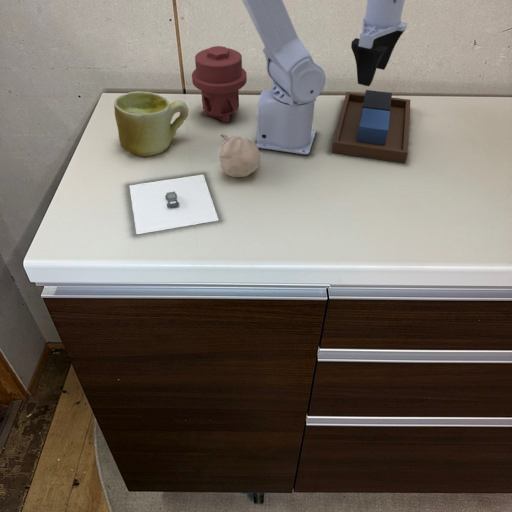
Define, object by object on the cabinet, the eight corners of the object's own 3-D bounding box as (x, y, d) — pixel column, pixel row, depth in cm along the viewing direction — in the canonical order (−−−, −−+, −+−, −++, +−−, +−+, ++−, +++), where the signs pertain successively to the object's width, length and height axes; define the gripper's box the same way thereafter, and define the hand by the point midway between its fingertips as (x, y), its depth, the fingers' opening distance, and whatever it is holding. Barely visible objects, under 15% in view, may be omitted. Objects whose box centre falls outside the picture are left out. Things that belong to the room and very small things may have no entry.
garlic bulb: (226, 160, 81) (224, 117, 75) (263, 164, 80) (264, 121, 74) (216, 182, 76) (214, 139, 70) (255, 187, 75) (256, 143, 70)
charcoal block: (360, 121, 89) (362, 106, 87) (363, 104, 94) (366, 89, 92) (386, 124, 89) (390, 109, 86) (388, 107, 93) (392, 92, 91)
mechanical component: (184, 117, 91) (217, 97, 97) (225, 133, 87) (256, 111, 93) (177, 52, 82) (214, 35, 88) (222, 66, 78) (257, 48, 84)
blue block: (356, 141, 84) (359, 126, 82) (360, 122, 89) (362, 107, 87) (384, 145, 83) (388, 130, 81) (387, 125, 88) (390, 111, 86)
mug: (108, 156, 78) (111, 93, 73) (116, 142, 87) (119, 85, 83) (183, 166, 80) (189, 106, 76) (183, 151, 89) (189, 96, 85)
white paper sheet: (203, 174, 78) (202, 166, 77) (218, 220, 70) (218, 212, 69) (129, 185, 75) (127, 177, 74) (136, 234, 67) (134, 226, 66)
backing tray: (331, 152, 83) (332, 142, 81) (344, 101, 96) (346, 91, 95) (404, 163, 81) (407, 152, 79) (407, 109, 94) (410, 99, 93)
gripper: (398, 8, 68) (379, 98, 77) (425, -17, 77) (406, 66, 86) (352, 0, 70) (339, 87, 80) (384, -24, 79) (369, 57, 89)
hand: (371, 76), depth 83 cm, fingers open, 7 cm apart
